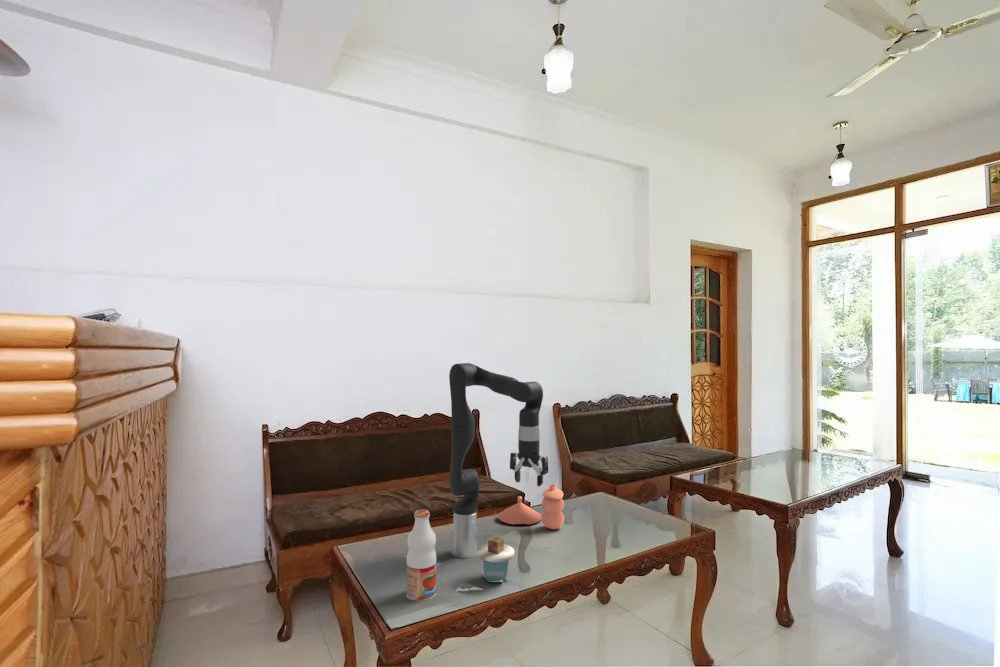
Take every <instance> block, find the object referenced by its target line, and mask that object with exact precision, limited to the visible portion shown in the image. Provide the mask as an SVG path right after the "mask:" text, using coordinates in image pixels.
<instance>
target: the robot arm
mask: <svg viewBox="0 0 1000 667" xmlns="http://www.w3.org/2000/svg"><path fill="white" fill-rule="evenodd" d="M448 374H449V375H448V377H449V390H450V401H451V402H450V404H451V409H450V410H451V411H450V412H451V423H450V424H451V431H450V433H451V434H450V435H451V438H450V439H451V455H450V469H449V489H450V492H451V494H452V495H453V496H456V497H459V496H462V497H461V498H460V499H459V500H457V501H456V502H455V503H454V504H453V528H452V529H453V530H451V531H450V532H451V533H450V534H451V535H450V538H451V539H450V544H451V545H450V555H453V557H456V558H459V559H467V558H472V557H475V556H477V549H478V547H477V546H478V506H479V496H480V495H479V494H480V476H479V474H478V472H477V471H476V469H473V468H468V469H464V470H463V466H464V461H465V457H466V456H467V453H468V451H469V449H470V448H471V446H472V444H473V442H474V440H475V437H476V436H475V435H476V434H475V433H476V429H475V428H476V427H475V426H476V423H475V422H476V420H475V417H474V415H473V412H472V410H471V409H470V407H469V405H468V401H467V395H466V394H467V387H471V386H478V387H479V386H481V387H486V388H487V389H489V390H490V391H491V392H494V393H496V394H499V395H503V396H506V397H510V398H511V399H513V400H514V401H515V400H516V401H517V402H520V403H525V405H524V407H523V408H522V409H520V411H519V414H518V418H519V419H518V421H519V423H518V424H519V425H518V432H517V433H518V435H517V437H518V438H517V439H518V443H517V444H518V448H517V449H518V452H516V451H513V452H511V453H510V455H509V456H510V458H509V469H510V470H513V471H514V481H515V482H516V483H520V482H521V469H522V468H523V467H525V468H526V467H527V468H531V469H533V470H534V471H535V473H536V474H537V475H536V487H541V486H542V485H543V483H544V476H545V475H547V474H549V459H548V458H549V457H548V456H545V455H544V456H540V445H541V444H540V443H541V442H540V440H541V439H540V437H541V434H540V411H541V408H542V403H543V399H544V398H543V397H544V390H543V386H542V385H541V384H540V383H539V382H537V381H526V382H524V381H519V380H518V379H517V378H515V377H513V376H512V377H511V376H507V375H503V374H500V373H494V372H493V371H489V370H486V369H484V368H482V367H480V366H478V365H476V364H474V363H470V362H466V363H465V362H464V363H455V364H453V365H452V366H451V368H450V369H449V373H448ZM517 459H518V460H519V461H518V463H517Z"/></svg>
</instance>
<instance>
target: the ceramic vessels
mask: <svg viewBox="0 0 1000 667" xmlns="http://www.w3.org/2000/svg"><path fill="white" fill-rule="evenodd" d="M542 496H543V498H542V500H541V506H542V508H543V509H544V510H543V512H542V514H541V513H540V512H538V511H536V509H535V510H534V509H532V507H529V506H528V505H526V504H524V503H523V496H521V495H520V496H517V503H515V504H513V505H511V506H510V507H507V508H506V509H503V511H500V512H499V513H498V514H497V516H498V517H497V519H498V520H499V521H501V522H503V523H506V524H509V525H515V524H527V525H534V524H536V523H538V522H541V523H542V524H543V525H544V527H545V528H547V529H549V530H558V529H559V528H560V527H562V526H563V524H564V522H565V517H564V513H563V512H562V510H563V509H564V507H565V501H564V500H563V497H564V491H562V489H559V488H558V487H557V484H556V483H550V484H549V487H547V488H545V489H544V490H543V491H542Z"/></svg>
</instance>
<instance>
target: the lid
mask: <svg viewBox="0 0 1000 667" xmlns="http://www.w3.org/2000/svg"><path fill="white" fill-rule="evenodd" d="M504 541H505V539H504V537H498V536H495V535H494V536H491V537H490V538H489V539H487V543H485V544H482V545H480V546H479V547H477V554H476V556H477V557H478V558H479V559H480V560H482V561H483V560H485V561H488V562H504V561H507V560H509V561H510V560H511V559H513V558H514V557H515V554H516V553H515V549H514V547H512V546H511V545H509V544H505V542H504Z"/></svg>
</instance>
